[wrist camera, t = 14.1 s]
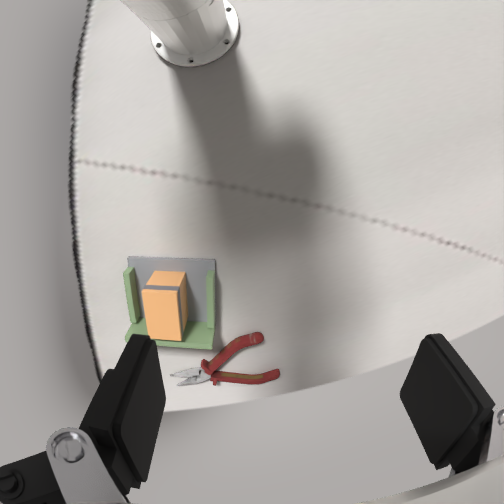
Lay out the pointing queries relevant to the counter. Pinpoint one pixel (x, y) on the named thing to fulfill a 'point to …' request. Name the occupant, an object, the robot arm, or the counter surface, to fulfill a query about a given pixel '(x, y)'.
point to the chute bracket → (198, 298)
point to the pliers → (209, 367)
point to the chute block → (166, 305)
